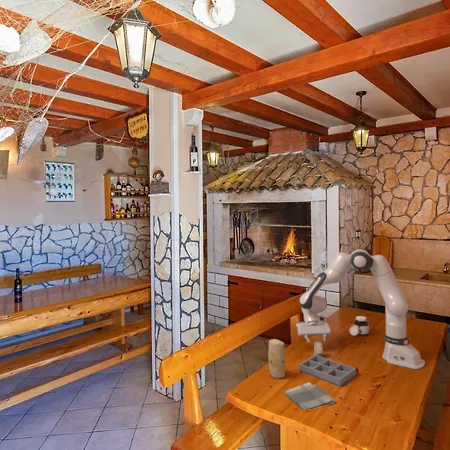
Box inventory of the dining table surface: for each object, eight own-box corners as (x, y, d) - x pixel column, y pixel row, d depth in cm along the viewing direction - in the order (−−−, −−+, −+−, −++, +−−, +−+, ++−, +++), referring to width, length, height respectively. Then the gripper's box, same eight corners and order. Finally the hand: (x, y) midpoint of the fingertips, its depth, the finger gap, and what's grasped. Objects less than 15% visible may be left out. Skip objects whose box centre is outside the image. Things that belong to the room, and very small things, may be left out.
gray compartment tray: (355, 375, 196) (355, 368, 195) (340, 386, 184) (340, 379, 183) (315, 361, 213) (315, 354, 213) (299, 370, 202) (299, 364, 201)
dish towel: (305, 413, 162) (305, 407, 162) (283, 394, 179) (283, 388, 178) (337, 403, 170) (337, 397, 169) (314, 386, 186) (314, 380, 186)
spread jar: (369, 333, 255) (369, 317, 254) (366, 338, 246) (366, 321, 245) (352, 330, 262) (352, 314, 261) (348, 335, 252) (348, 319, 251)
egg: (323, 357, 218) (323, 341, 218) (319, 359, 215) (319, 344, 214) (316, 354, 222) (316, 339, 221) (312, 357, 218) (312, 342, 218)
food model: (287, 376, 196) (287, 340, 195) (281, 381, 191) (281, 344, 189) (271, 371, 202) (271, 336, 200) (265, 376, 196) (265, 340, 195)
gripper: (296, 319, 227) (300, 340, 218) (328, 318, 228) (333, 339, 219) (294, 324, 232) (298, 344, 223) (325, 322, 233) (331, 343, 224)
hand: (316, 342), depth 221 cm, fingers open, 8 cm apart
